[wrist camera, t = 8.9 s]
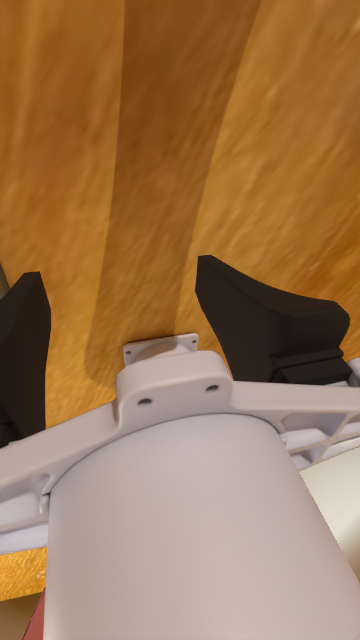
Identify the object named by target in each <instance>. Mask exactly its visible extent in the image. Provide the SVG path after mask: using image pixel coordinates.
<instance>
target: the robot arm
mask: <svg viewBox="0 0 360 640" xmlns="http://www.w3.org/2000/svg"><path fill="white" fill-rule="evenodd" d="M195 292H196V295H197V298H198V301H199V303H200V306H201V308H202V310H203V312H204V314H205V316H206V318H207V320H208V322H209V323H210V325H211V327H212V329H213V331H214V333H215V334H216V336H217V338H218V340H219V342H220V344H221V347H222V349H223V352H224V354H225V357H226V359H227V362H228V365H229V367H230V370H231V373H232V376H233V379H234V381H233V380H232V377H231V375H230V373H229V371H228V369H227V367H226V365H225V363H224V361H223V359H222V357H221V356H220V355H219V354H217V353H216V352H214V351H204V350H199V351H197V348H198V339H199V337H198V334H196V333H191V334H185V335H178V336H172V337H165V338H159V339H153V340H146V341H140V342H133V343H127V344H125V345H124V346H123V355H124V364H125V368H124V369H123V370H122V371H120V372H119V373H118V374H117V378H116V382H115V388H116V399H115V400H114V401H112V402H109V403H107V404H105V405H102V406H100V407H98V408H95V409H93V410H90V411H88V412H86V413H83V414H81V415H79V416H76V417H74V418H72V419H69V420H67V421H65V422H62V423H60V424H57V425H55V426H53V427H50V428H48V429H46V423H45V371H46V362H47V355H48V347H49V340H50V332H51V308H50V305H49V301H48V298H47V295H46V291H45V288H44V284H43V281H42V278H41V274H40V271H39V272H28V273H24V274H23V275H22V276H21V277H20V278H19V280H18V281H17V282H16V283H15V284H14V285H13V286H12V288H11V289H10V290H9V291H8V292H7V293H6V294H5V295H4V296H3V297H2V298H1V299H0V555H3V554H9V553H15V552H20V551H26V550H32V549H37V548H43V547H47V566H46V588H45V610H44V632H43V640H360V584H359V581H358V580H357V578H356V576H355V574H354V572H353V570H352V569H351V567H350V565H349V563H348V561H347V560H346V558H345V556H344V554H343V552H342V550H341V549H340V547H339V545H338V543H337V541H336V539H335V538H334V536H333V534H332V532H331V530H330V528H329V526H328V525H327V523H326V521H325V519H324V518H323V515H322V514H321V512H320V510H319V508H318V506H317V504H316V503H315V501H314V499H313V497H312V495H311V494H310V492H309V490H308V488H307V486H306V485H305V482H304V481H303V479H302V477H301V475H300V473H299V471H301V470H304V469H306V468H308V467H311V466H313V465H316V464H318V463H320V462H322V461H325V460H328V459H330V458H332V457H335V456H337V455H339V454H342V453H345V452H347V451H350V450H352V449H355V448H358V447H360V357H358V358H354V359H351V360H350V361H348V362H347V363H346V362H345V361H344V360H343V359H342V357H343V355H344V353H343V351H342V350H341V349H340V348H339V346H340V344H341V342H342V340H343V338H344V336H345V334H346V332H347V330H348V328H349V325H350V317H349V314H348V313H347V312H346V311H345V310H344V309H343V308H342V307H341V306H340V305H339V304H337V303H336V302H335V301H328V300H321V299H315V298H310V297H305V296H300V295H296V294H292V293H289V292H286V291H282V290H279V289H276V288H273V287H271V286H268V285H266V284H263V283H261V282H259V281H257V280H254V279H252V278H251V277H249V276H247V275H245V274H243V273H241V272H239V271H237V270H236V269H234V268H232V267H231V266H229V265H227V264H226V263H224V262H222V261H221V260H219V259H217V258H216V257H214V256H212V255H203V256H198V264H197V276H196V287H195ZM127 351H129V352H127Z"/></svg>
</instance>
